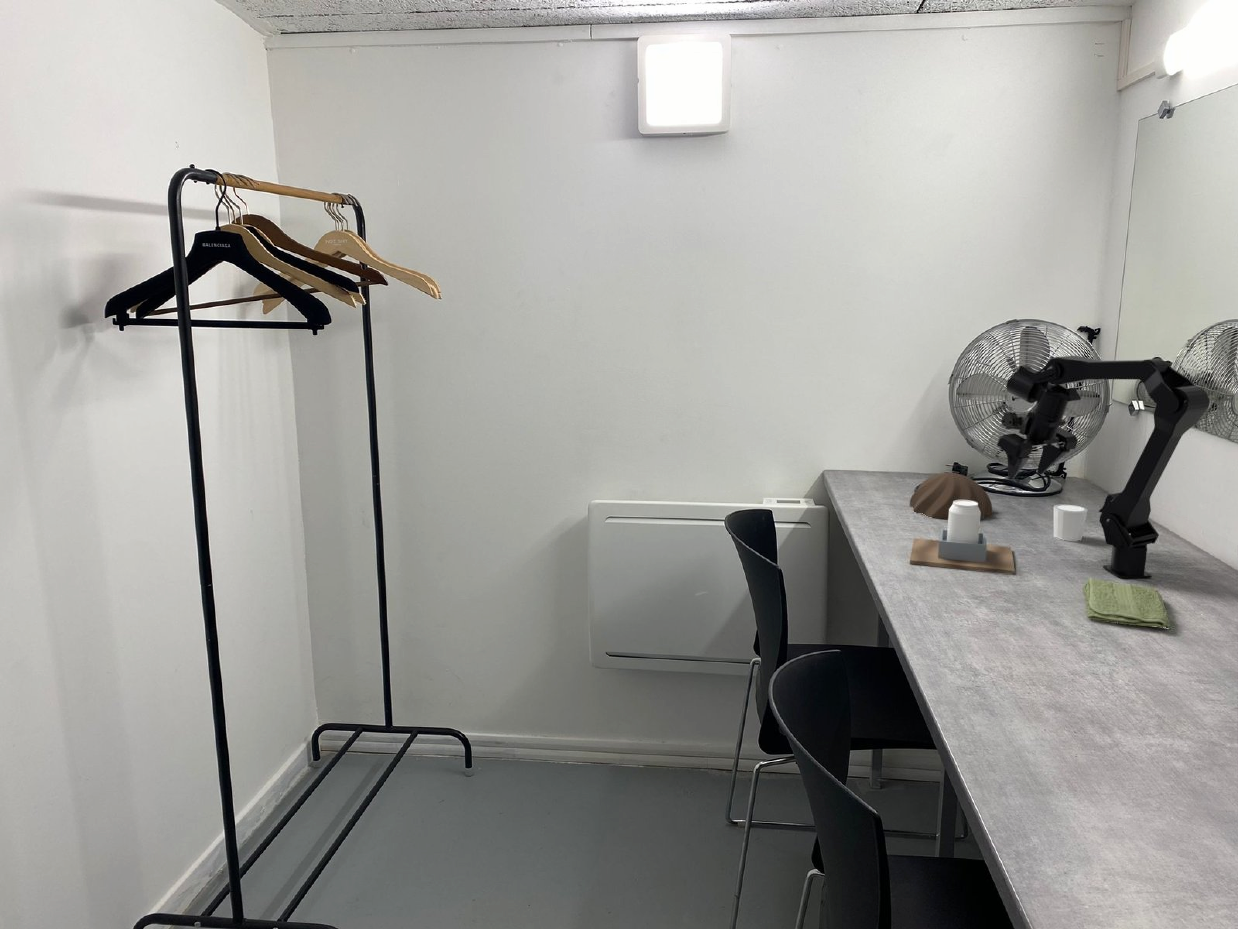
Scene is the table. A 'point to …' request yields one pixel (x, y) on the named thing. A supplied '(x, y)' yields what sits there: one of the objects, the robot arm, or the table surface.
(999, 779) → the table surface
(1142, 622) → the washcloth
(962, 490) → the decorative dome
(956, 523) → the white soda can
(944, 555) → the gray square open box
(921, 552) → the brown slab
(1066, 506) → the white tapered cup
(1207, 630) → the table surface
